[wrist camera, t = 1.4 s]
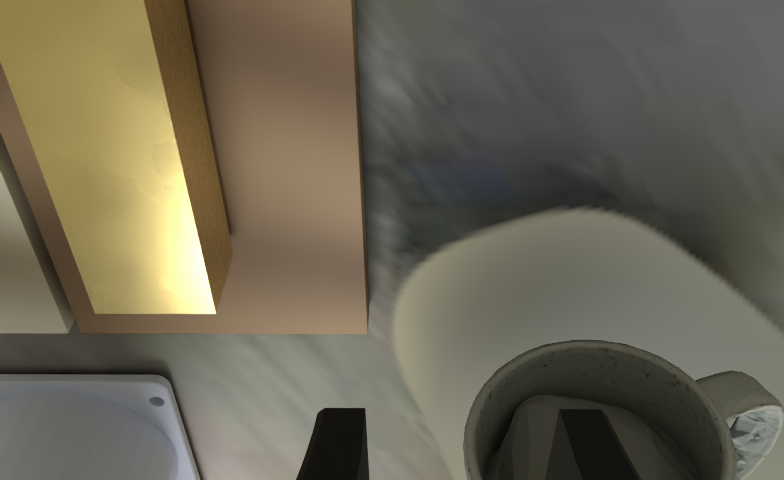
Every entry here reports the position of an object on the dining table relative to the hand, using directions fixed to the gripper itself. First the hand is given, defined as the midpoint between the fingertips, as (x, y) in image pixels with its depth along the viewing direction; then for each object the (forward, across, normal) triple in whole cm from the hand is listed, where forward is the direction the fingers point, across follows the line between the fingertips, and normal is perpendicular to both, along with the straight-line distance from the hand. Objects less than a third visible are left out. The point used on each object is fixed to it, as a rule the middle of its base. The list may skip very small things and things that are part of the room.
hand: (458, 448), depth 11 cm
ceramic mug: (+10, -6, +12) cm, 17 cm away
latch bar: (+8, +7, -3) cm, 11 cm away
